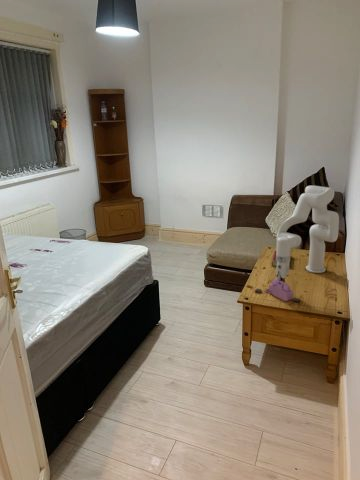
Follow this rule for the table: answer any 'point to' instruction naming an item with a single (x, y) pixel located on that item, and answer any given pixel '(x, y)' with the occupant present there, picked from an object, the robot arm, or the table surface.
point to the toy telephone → (280, 290)
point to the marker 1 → (258, 290)
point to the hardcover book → (274, 262)
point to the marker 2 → (296, 300)
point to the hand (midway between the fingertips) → (281, 285)
